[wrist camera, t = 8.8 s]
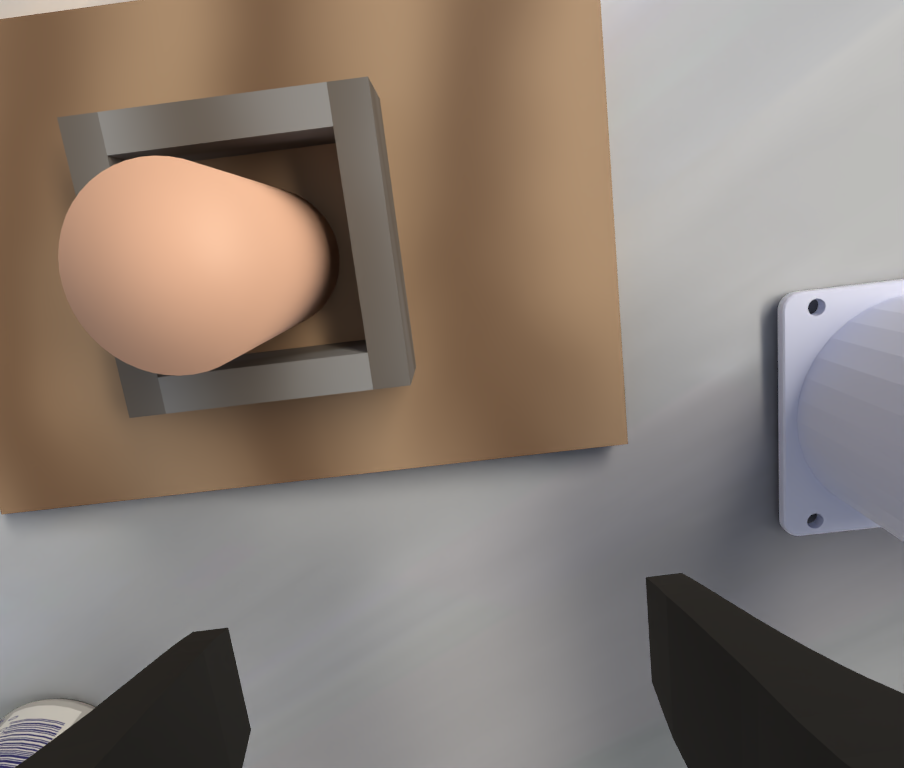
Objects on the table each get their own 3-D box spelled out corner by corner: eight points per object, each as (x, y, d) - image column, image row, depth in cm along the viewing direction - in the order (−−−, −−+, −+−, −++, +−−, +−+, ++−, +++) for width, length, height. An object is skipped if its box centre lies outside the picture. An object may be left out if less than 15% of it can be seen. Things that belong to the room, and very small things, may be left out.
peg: (325, 177, 18) (249, 138, 11) (351, 316, 19) (295, 358, 12) (187, 199, 18) (30, 174, 11) (219, 337, 19) (92, 390, 12)
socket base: (588, -46, 18) (620, -114, 14) (619, 434, 21) (652, 472, 17) (-109, 48, 18) (-238, 6, 15) (22, 501, 22) (-60, 551, 18)
